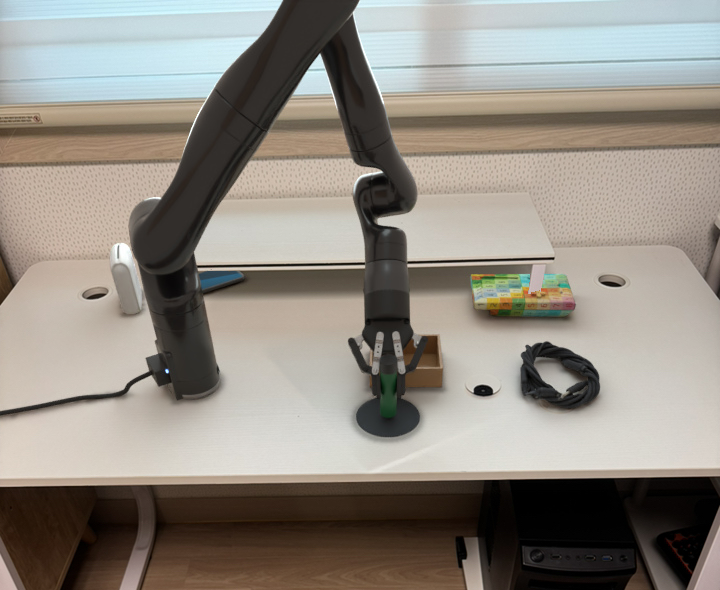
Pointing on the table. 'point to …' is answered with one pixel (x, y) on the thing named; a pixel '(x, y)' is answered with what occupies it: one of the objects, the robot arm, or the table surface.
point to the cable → (569, 360)
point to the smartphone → (219, 279)
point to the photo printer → (125, 278)
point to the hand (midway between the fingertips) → (389, 398)
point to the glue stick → (388, 385)
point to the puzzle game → (522, 295)
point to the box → (422, 364)
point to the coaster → (387, 419)
